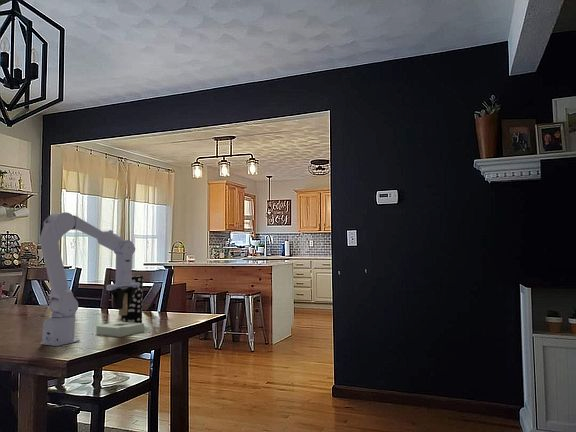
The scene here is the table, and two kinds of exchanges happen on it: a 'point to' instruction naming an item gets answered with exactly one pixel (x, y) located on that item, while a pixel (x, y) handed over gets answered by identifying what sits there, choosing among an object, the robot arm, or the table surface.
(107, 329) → the wick holder
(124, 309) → the peg
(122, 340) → the table surface
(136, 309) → the spotted tube
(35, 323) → the table surface
